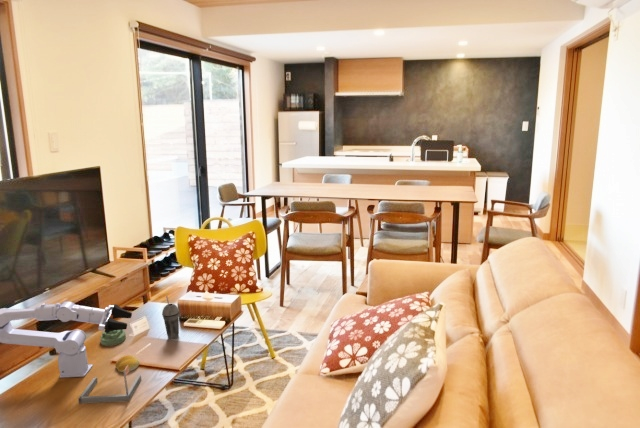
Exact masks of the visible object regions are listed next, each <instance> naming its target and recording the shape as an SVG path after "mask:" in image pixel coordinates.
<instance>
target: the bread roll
mask: <svg viewBox="0 0 640 428" xmlns="http://www.w3.org/2000/svg"><path fill="white" fill-rule="evenodd" d="M127 365H128V367H129V372H128V373H130V372H133V371H134V370H136V369H137V368H138V367H139V365H140V360H139V359H138V358H136V356H134V355H129V354H127V355H124V356H122V357H120V358H118V360H117V361H115V369H117V371H118V372H119V373H124V372H123V371H124V370H125V368H126V367H127Z"/></svg>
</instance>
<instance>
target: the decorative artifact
mask: <svg viewBox="0 0 640 428" xmlns="http://www.w3.org/2000/svg"><path fill="white" fill-rule="evenodd" d="M126 340H127V336H126V331H125V330H124V329H123V330H114V331H110V332H108V333H106V332H105V330H104V331H102V333H101V336H100V343H101V345H102V346H106V347H107V346H108V347H112V346H116V345H119V344H121V343H123V342H124V341H126Z"/></svg>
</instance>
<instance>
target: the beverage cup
mask: <svg viewBox="0 0 640 428" xmlns="http://www.w3.org/2000/svg"><path fill="white" fill-rule="evenodd" d="M165 296H166V297H165V299H166V302H167V304H166V305H164V307H163V309H162V313H161V315H162V317H163V321H164V326H165V331H166V336H167V338H168V340H171V341H173V340H177V339H179V337H180V336H179V334H180V333H179V332H180V326H179V324H180V323H179V320H180V310H179V307H178V306H177V305H176V304H174V303H170V302H169V298H168V295H165Z"/></svg>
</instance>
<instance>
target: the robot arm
mask: <svg viewBox="0 0 640 428" xmlns="http://www.w3.org/2000/svg"><path fill="white" fill-rule="evenodd" d="M132 315H133V312H131V311H129V310H126V309H124V308H122V307H121V306H120V305H118V304H116V303H115V304H114V305H111V304H109V305H108V306H106V307H105V308H98V307H93V306H92V307H90V306H86V305H79V304H76V303H74V302H73V301H71V300H70V301H69V300H65V301H63V302H61V303H60V302H56V303H53V304H46V302H44V303H41V304H39V305H37V306H36V308H7V307H3V308H0V343H2V344H8V345H20V346H33V347H43V348H55V351H56V352H57V353H58V357H57V363H58V364H57V365H58V372H59V378H60V379H62V378H76V377H77V378H78V377H79V378H80V377H81V378H82V377H85V376H86V375H87V374H88V373H89V371H90V370H91V369H92V368H93V367H94V364H89V362H88V356H87V355H88V354H87V349H86V346H85V342H86V339H87V335H86V332H84V330H83V329H82V330H81V329H73V330H64V331H61V332H53V331H51V332H50V331H41V330H40V331H39V330H30V329H20V328H14V327H13V326H12V323H11V321H19V320H28V319H35V320H37V321H38V322H39V321H42V322H43V321H55V320H57V321H58V320H60V321H61V323H66V322H69V321H76V322H80V323H81V322H82V323H89V324H94V325H98V329H97V330H98V331H102V332H103V331H105V332H106V333H108V332H110V331H114V330H123V331H124V330H127V328H128V323H127V322H123V321H118V320H117V319H132ZM111 316H112V318H111Z"/></svg>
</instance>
